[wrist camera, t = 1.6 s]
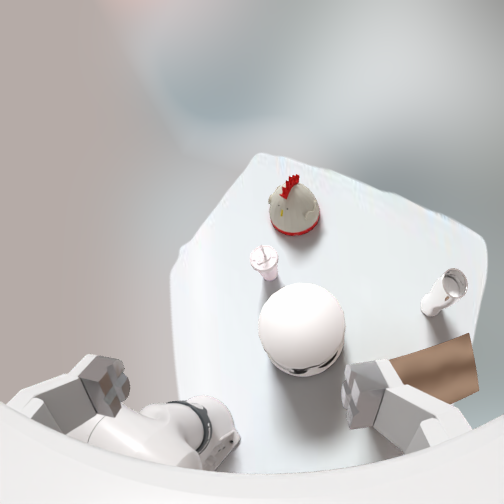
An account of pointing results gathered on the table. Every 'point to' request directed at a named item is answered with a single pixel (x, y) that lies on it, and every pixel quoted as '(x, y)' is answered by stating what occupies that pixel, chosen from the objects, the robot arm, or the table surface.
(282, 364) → the milk container
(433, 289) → the white hollow cylinder
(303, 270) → the table surface
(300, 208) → the kitchen timer
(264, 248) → the smoothie
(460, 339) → the box
